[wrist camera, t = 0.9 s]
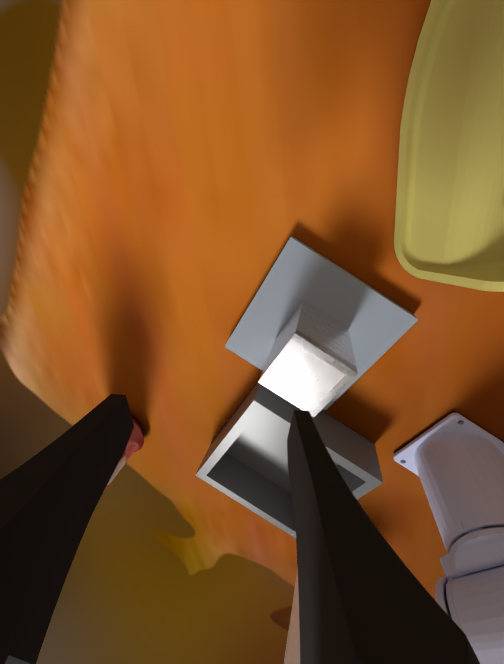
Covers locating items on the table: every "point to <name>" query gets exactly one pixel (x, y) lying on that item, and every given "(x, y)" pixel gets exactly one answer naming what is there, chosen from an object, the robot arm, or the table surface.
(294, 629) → the drinking glass
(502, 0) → the plastic component
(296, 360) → the light grey block
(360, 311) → the base
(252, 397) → the bin
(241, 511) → the table surface
